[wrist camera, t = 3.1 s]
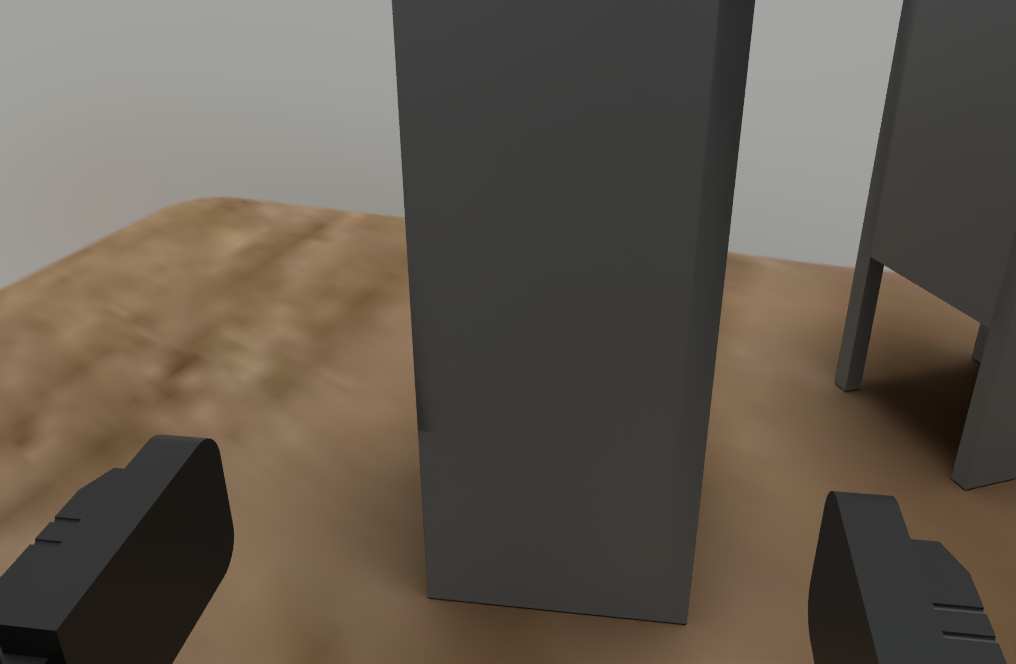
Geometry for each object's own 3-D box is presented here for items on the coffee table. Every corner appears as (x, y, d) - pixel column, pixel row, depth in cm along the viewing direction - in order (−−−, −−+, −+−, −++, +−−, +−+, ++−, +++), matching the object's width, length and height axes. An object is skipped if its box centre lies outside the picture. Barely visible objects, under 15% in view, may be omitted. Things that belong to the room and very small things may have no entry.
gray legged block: (682, 468, 28) (740, -119, 21) (686, 623, 23) (766, -102, 15) (473, 451, 29) (457, -119, 22) (428, 597, 24) (385, -103, 16)
